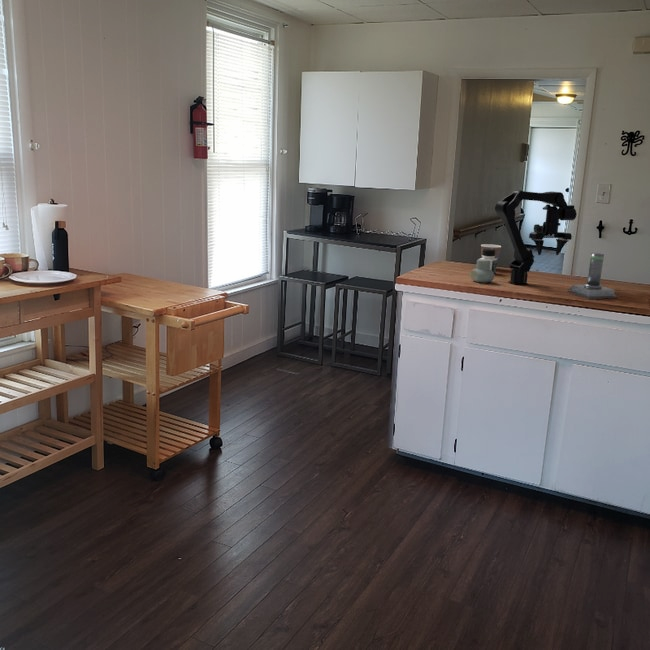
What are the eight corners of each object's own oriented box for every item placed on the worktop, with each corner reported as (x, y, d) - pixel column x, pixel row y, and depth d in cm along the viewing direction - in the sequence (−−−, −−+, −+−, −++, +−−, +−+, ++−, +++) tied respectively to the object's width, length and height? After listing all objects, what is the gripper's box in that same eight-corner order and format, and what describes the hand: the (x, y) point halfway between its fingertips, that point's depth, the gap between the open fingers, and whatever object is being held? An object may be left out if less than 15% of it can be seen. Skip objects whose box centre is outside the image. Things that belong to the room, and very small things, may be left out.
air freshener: (495, 283, 302) (498, 261, 299) (479, 284, 299) (481, 261, 297) (483, 279, 312) (485, 258, 309) (467, 279, 309) (469, 258, 307)
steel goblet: (584, 287, 280) (589, 254, 276) (583, 284, 287) (587, 252, 283) (602, 289, 278) (607, 255, 275) (600, 286, 285) (605, 253, 281)
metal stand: (588, 299, 275) (589, 290, 274) (567, 292, 288) (568, 284, 287) (617, 298, 279) (618, 290, 278) (595, 291, 292) (596, 283, 291)
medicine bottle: (491, 274, 325) (493, 250, 323) (477, 273, 329) (479, 248, 326) (496, 273, 331) (498, 248, 328) (482, 271, 335) (484, 247, 332)
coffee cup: (501, 271, 339) (503, 247, 336) (480, 270, 339) (483, 246, 336) (496, 267, 349) (498, 244, 346) (476, 267, 349) (478, 243, 346)
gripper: (559, 218, 311) (555, 252, 315) (524, 218, 306) (520, 252, 310) (574, 221, 301) (570, 255, 305) (538, 220, 296) (534, 256, 300)
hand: (548, 255), depth 305 cm, fingers open, 9 cm apart
